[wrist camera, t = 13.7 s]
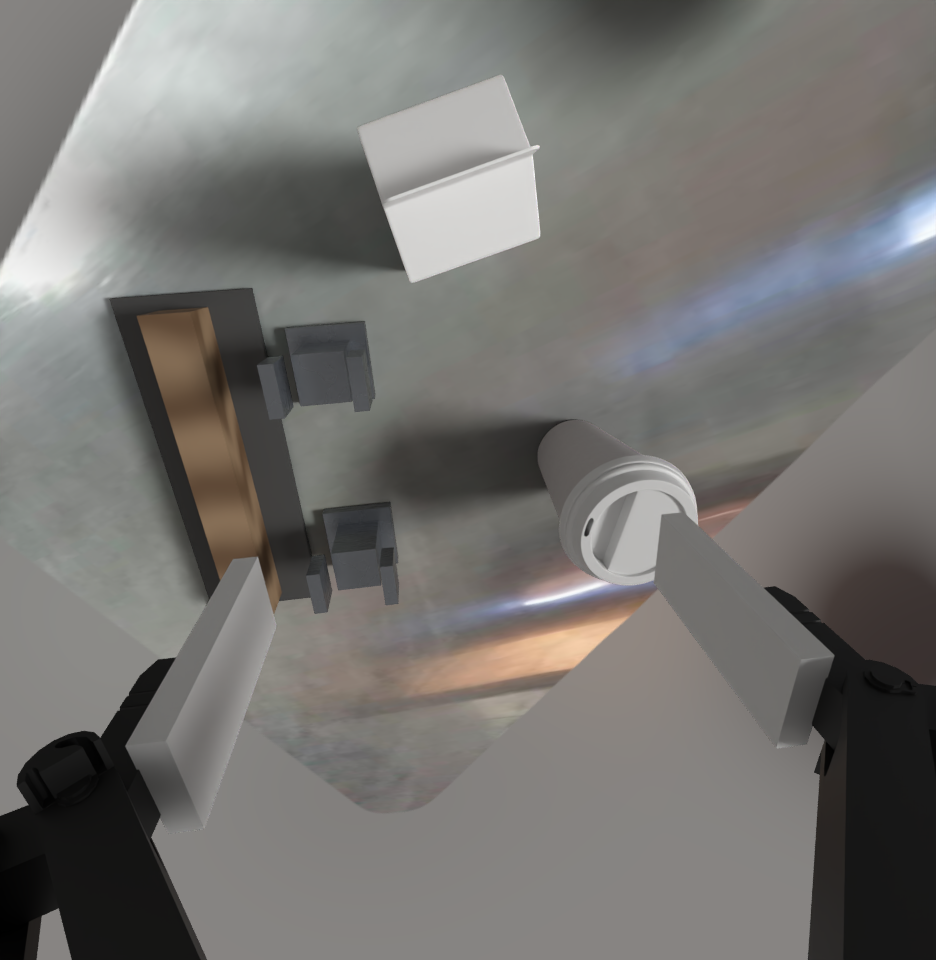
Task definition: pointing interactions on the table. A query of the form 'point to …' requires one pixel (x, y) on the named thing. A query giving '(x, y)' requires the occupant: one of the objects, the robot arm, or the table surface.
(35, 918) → the robot arm
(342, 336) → the post
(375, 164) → the milk
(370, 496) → the table surface
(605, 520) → the coffee cup
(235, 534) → the rail
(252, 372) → the mat
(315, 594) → the post
